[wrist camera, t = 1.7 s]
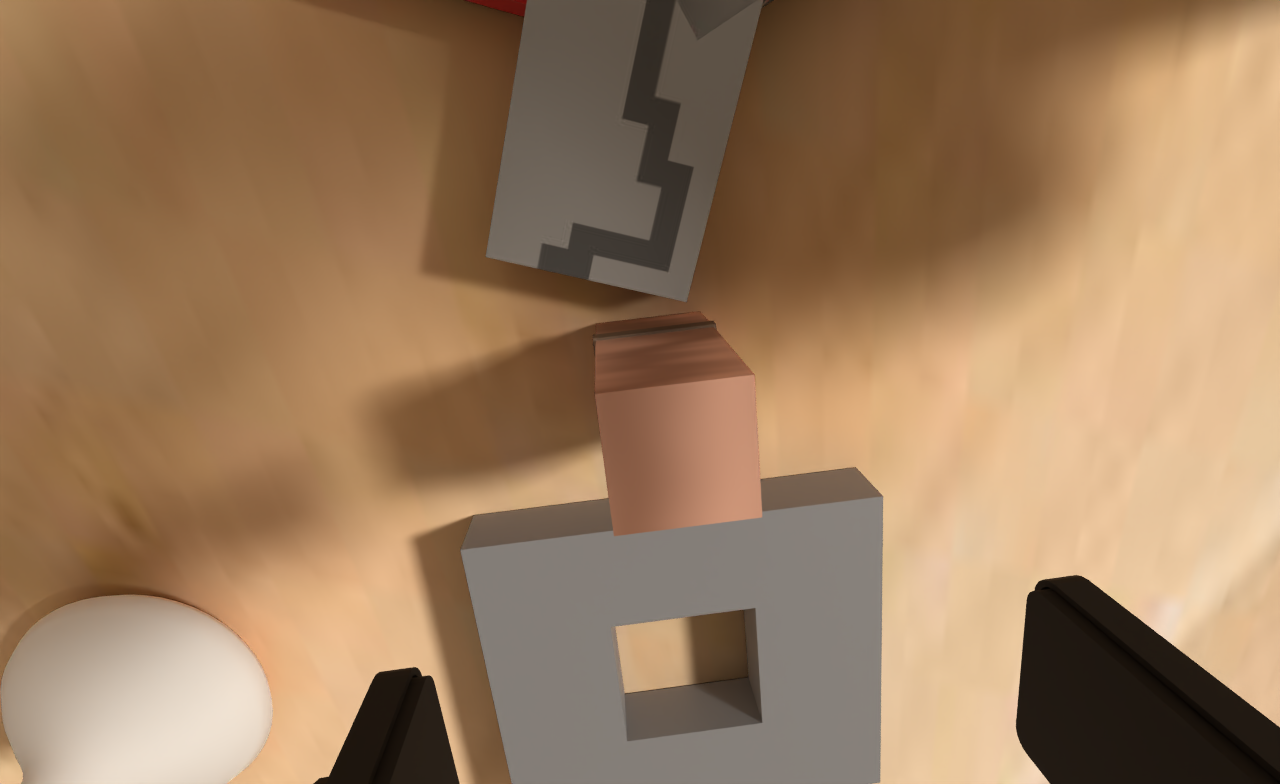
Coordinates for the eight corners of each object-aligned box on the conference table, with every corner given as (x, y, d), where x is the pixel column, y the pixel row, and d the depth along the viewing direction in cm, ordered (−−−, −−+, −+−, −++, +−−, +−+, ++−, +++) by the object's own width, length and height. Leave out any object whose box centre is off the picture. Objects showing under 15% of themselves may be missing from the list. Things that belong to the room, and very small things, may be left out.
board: (855, 467, 30) (882, 496, 27) (857, 733, 35) (880, 782, 32) (473, 515, 30) (460, 550, 27) (528, 779, 34) (522, 832, 32)
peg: (702, 308, 27) (757, 370, 18) (710, 411, 29) (765, 519, 19) (593, 321, 27) (590, 390, 18) (606, 424, 29) (610, 539, 19)
